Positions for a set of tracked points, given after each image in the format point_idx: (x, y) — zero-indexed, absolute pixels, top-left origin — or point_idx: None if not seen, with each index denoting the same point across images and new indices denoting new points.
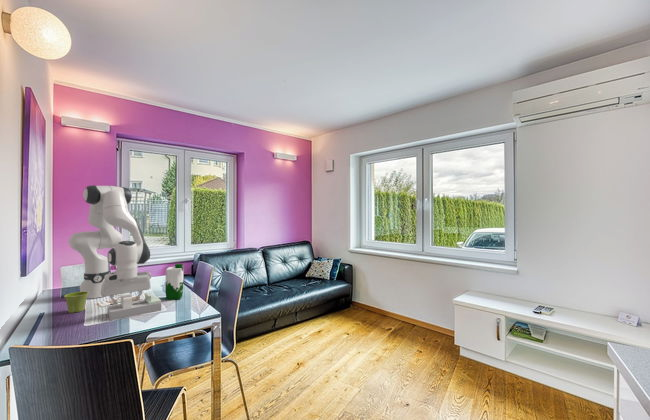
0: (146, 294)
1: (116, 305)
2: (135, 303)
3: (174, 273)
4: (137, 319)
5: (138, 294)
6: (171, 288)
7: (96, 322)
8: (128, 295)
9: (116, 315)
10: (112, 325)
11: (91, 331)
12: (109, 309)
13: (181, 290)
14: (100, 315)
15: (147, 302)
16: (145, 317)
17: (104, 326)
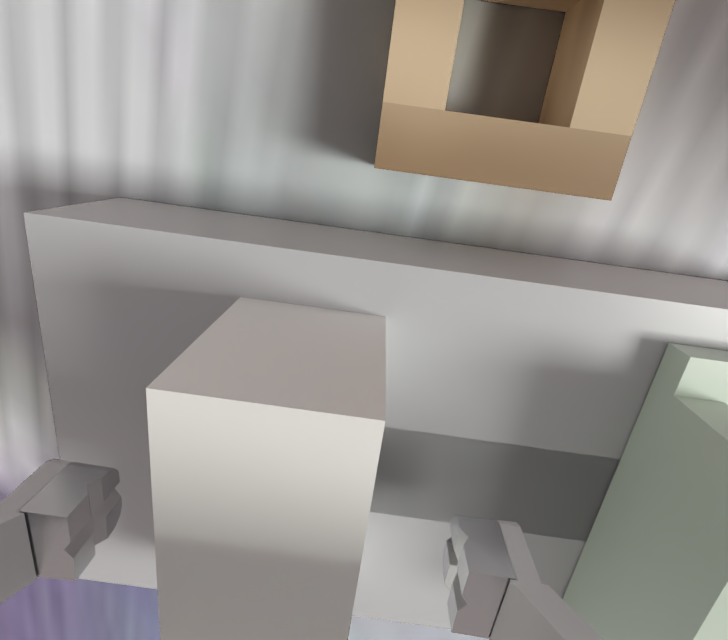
0: (703, 615)
1: (171, 315)
2: (446, 443)
3: None
4: (350, 624)
5: (541, 613)
6: None
7: (20, 438)
8: (319, 553)
9: None
10: (151, 611)
11: (6, 619)
12: (65, 459)
13: None
14: (41, 188)
15: (584, 558)
16: (422, 627)
17: (92, 589)
